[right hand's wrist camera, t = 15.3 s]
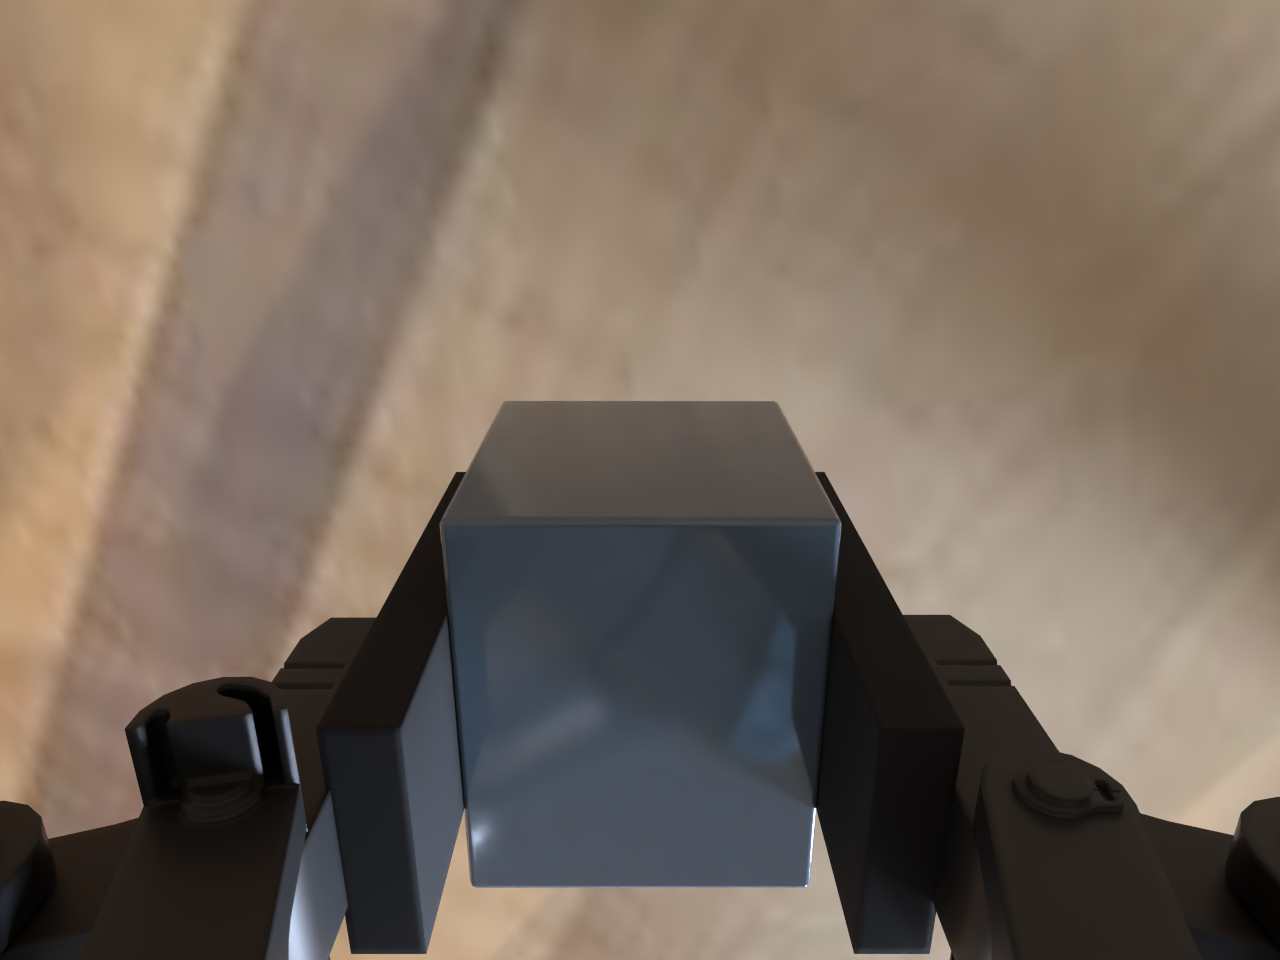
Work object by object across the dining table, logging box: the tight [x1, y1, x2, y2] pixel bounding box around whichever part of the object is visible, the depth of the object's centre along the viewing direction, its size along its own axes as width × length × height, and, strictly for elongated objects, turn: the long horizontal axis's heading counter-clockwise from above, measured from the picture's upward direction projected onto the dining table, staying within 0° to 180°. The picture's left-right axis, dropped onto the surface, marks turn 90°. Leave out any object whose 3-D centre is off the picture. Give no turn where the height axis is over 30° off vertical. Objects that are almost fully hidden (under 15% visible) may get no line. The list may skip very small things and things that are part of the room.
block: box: [440, 401, 841, 888], centre depth 13 cm, size 5×4×5 cm
